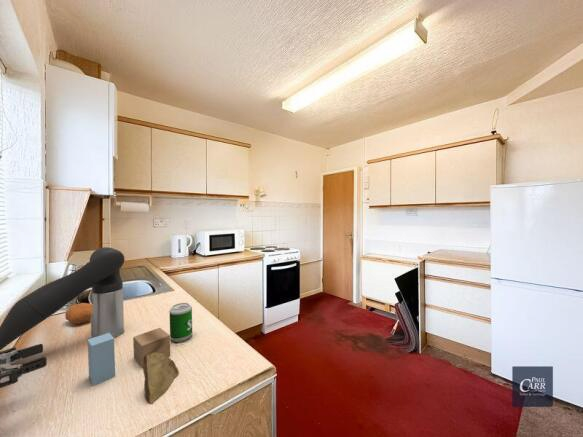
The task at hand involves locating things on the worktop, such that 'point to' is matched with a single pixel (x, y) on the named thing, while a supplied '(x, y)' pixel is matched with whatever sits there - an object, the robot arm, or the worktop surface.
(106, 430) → the worktop surface
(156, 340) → the walnut block
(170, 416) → the worktop surface
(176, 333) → the soda can
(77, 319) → the potato
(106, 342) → the blue block
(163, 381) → the rock
